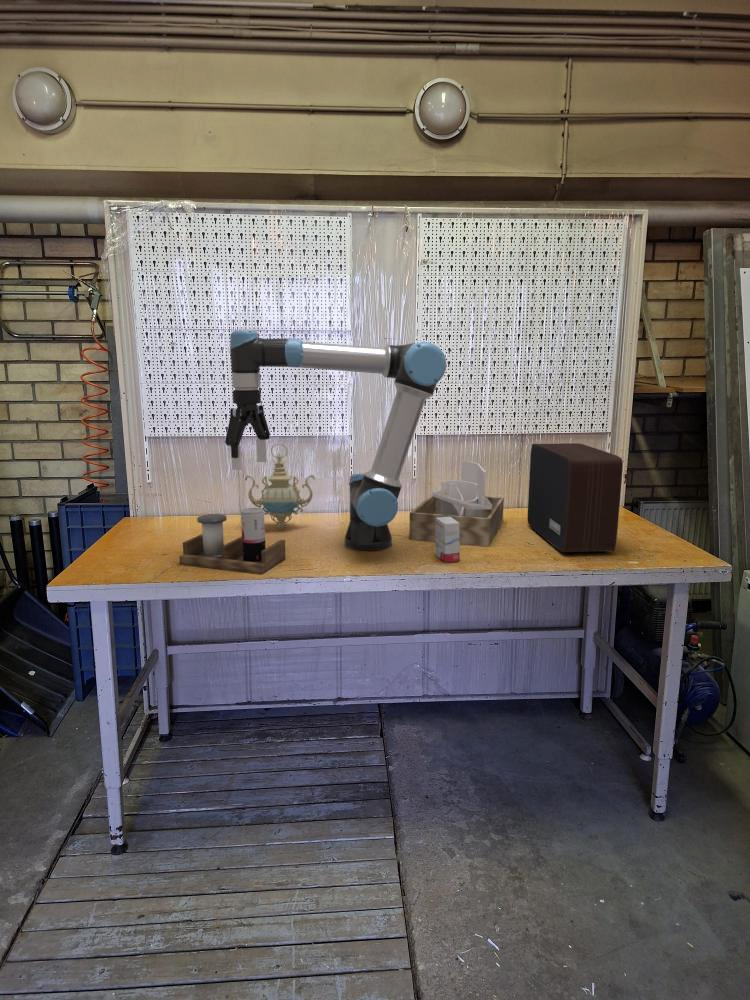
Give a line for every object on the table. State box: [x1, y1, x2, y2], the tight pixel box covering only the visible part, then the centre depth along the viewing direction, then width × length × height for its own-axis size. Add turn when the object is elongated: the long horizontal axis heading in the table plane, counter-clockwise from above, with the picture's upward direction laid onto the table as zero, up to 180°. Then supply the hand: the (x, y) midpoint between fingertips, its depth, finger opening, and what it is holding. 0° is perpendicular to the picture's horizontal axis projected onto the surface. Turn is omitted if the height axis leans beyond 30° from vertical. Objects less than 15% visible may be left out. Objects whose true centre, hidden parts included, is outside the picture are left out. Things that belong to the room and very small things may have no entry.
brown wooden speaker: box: [527, 442, 624, 553], centre depth 201 cm, size 36×18×30 cm, turn 4°
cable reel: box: [196, 513, 228, 558], centre depth 184 cm, size 8×8×12 cm
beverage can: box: [240, 507, 267, 563], centre depth 179 cm, size 6×6×15 cm
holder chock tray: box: [408, 494, 505, 548], centre depth 215 cm, size 26×33×9 cm
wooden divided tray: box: [178, 533, 287, 575], centre depth 182 cm, size 27×14×6 cm, turn 71°
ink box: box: [435, 517, 461, 563], centre depth 184 cm, size 9×5×12 cm, turn 13°
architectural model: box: [431, 459, 492, 518], centre depth 213 cm, size 28×21×23 cm
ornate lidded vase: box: [244, 443, 316, 530], centre depth 215 cm, size 24×12×30 cm, turn 91°
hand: (250, 465), depth 175 cm, fingers open, 13 cm apart
